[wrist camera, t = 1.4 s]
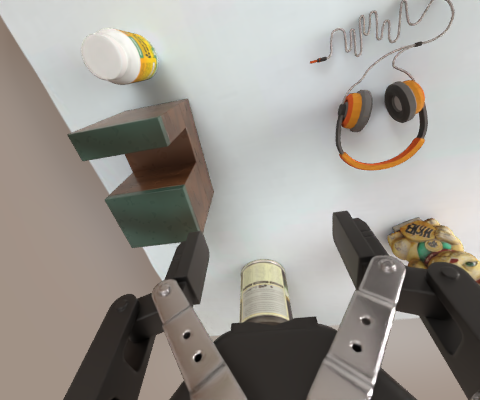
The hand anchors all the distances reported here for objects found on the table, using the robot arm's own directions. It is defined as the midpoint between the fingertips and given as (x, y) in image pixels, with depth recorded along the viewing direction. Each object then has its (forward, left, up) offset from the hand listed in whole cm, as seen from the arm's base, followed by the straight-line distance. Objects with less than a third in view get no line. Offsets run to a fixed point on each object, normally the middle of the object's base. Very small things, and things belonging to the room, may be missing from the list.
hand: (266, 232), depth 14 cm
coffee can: (+33, -3, -25) cm, 42 cm away
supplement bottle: (-12, -14, -25) cm, 31 cm away
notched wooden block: (+2, -14, -25) cm, 29 cm away
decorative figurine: (+25, +27, -25) cm, 44 cm away
